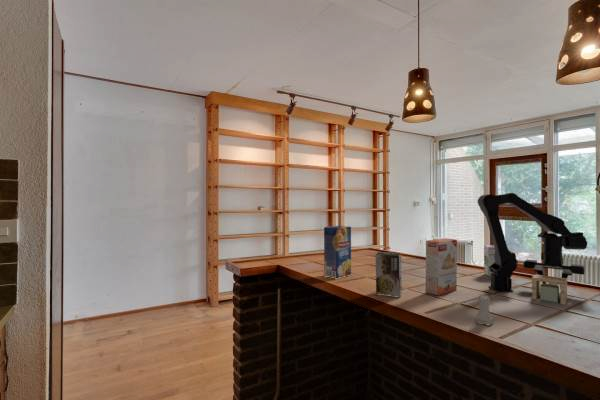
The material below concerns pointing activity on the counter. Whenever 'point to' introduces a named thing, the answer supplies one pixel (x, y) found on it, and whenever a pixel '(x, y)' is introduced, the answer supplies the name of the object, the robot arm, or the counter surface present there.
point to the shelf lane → (558, 280)
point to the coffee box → (388, 273)
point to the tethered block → (549, 292)
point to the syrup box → (488, 258)
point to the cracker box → (441, 266)
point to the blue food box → (337, 251)
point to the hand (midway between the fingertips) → (553, 288)
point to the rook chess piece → (484, 310)
